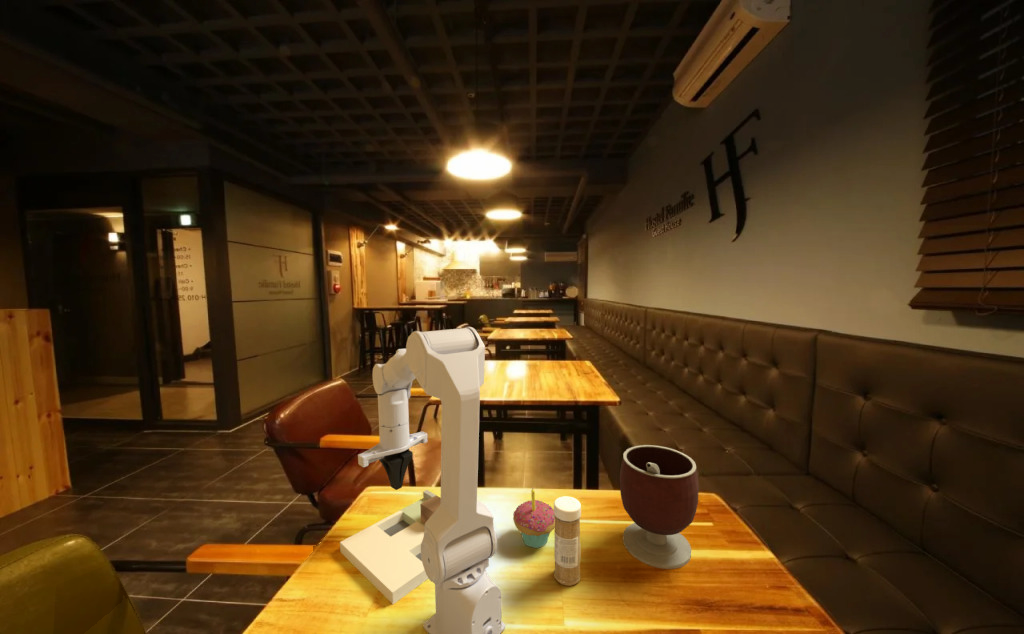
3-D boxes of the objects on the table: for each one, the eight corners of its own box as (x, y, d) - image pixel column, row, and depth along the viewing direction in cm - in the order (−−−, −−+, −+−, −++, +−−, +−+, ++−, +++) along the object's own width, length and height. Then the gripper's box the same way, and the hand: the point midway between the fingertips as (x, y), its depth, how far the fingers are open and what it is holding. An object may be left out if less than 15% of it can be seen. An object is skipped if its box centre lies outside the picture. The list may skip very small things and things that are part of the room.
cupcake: (554, 557, 69) (554, 495, 68) (509, 551, 71) (508, 491, 70) (557, 528, 78) (558, 472, 76) (517, 523, 79) (517, 468, 78)
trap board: (482, 538, 74) (482, 521, 74) (393, 604, 59) (392, 583, 59) (427, 504, 86) (426, 489, 86) (340, 552, 71) (339, 534, 71)
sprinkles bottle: (582, 571, 66) (583, 498, 65) (576, 590, 62) (577, 513, 60) (557, 563, 68) (558, 492, 66) (550, 582, 64) (550, 506, 62)
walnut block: (449, 520, 77) (448, 502, 77) (433, 530, 74) (432, 511, 74) (436, 513, 80) (436, 495, 79) (421, 522, 76) (420, 503, 76)
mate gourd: (629, 514, 82) (631, 425, 80) (700, 537, 74) (704, 439, 73) (606, 558, 69) (608, 453, 67) (689, 591, 61) (693, 474, 60)
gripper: (413, 408, 83) (415, 467, 84) (348, 428, 72) (352, 495, 73) (432, 415, 78) (434, 477, 80) (367, 437, 67) (370, 509, 69)
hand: (396, 487), depth 76 cm, fingers closed
